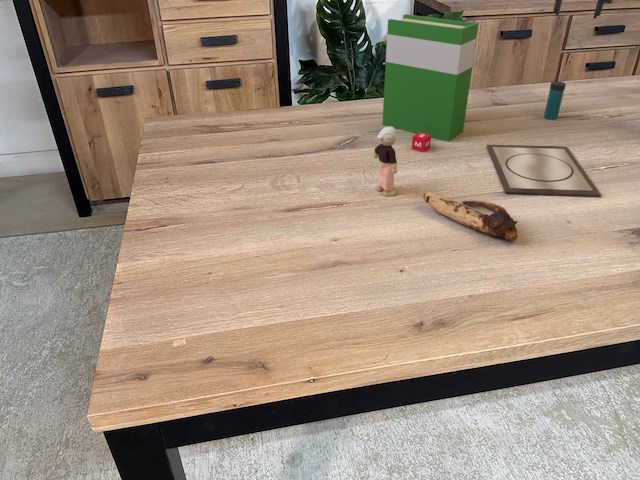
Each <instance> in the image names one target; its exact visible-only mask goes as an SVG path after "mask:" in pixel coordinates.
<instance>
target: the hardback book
mask: <svg viewBox="0 0 640 480" xmlns="http://www.w3.org/2000/svg"><path fill="white" fill-rule="evenodd" d="M478 30H479V23H478V22H470V21H463V20H455V19H445V18H439V17H430V16H424V15H415V14H408V13H405V14H403V16H402V19H393V18H388V19H387V30H386V32H387V33H386V50H385V51H386V52H385V66H384V67H385V68H384V69H385V71H384V87H383V88H384V89H383V105H382V106H383V107H382V122H381V123H382V126H385V127H393V128H394V129H397V130H402V131H406V132H409V133H413V134H417V133H418V132H421V133H425V134H429V135H431V139H432V138H433V139H436V140H439V141H444V142H450V141H452V140H453V139H454V138H456V137H458V136H459V135H461V134H462V133H463V132H464V129H465V123H466V116H467V115H466V114H467V107H468V99H469V93H470V86H471V80H472V79H471V78H472V71H473V65H474V59H475V58H474V57H475V50H476V43H477V36H478Z"/></svg>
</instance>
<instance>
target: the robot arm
mask: <svg viewBox="0 0 640 480" xmlns="http://www.w3.org/2000/svg"><path fill="white" fill-rule="evenodd" d="M554 1H555V2H554V6H553V14H555V16H559V15H560V12H561V8H562V5H563V1H564V0H554ZM613 1H614V0H595V2H596V4H595V5H596V6H595V10H594V14H593V19H597V18H598V17H600V16H601V14H602V11H603V8H604V7H603V6H604V5H605V4H608V5H610V4H612V3H613Z"/></svg>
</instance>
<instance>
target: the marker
mask: <svg viewBox="0 0 640 480" xmlns="http://www.w3.org/2000/svg"><path fill="white" fill-rule="evenodd" d="M566 86H567V83H565V82H563V81H557V80H556V81H551V82H550V86H549V91H548V96H547V100H546V105H545V108H544V109H545V110H544V114H543V119H546V120H550V121H555V120H558V117H559V114H560V109H561V105H562V101H563V97H564V93H565V90H566Z"/></svg>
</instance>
